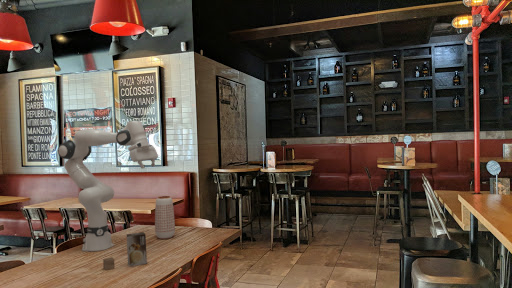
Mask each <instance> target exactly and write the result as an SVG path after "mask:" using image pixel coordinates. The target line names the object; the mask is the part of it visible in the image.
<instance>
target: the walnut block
mask: <svg viewBox="0 0 512 288" xmlns="http://www.w3.org/2000/svg"><path fill="white" fill-rule="evenodd" d="M102 262H103V266H102V268H103V270H104V271H109V270H110V271H111V270H115V258H114V257H112V256H111V257H110V256H109V257H106V258H103V259H102Z"/></svg>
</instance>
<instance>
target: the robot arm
mask: <svg viewBox="0 0 512 288" xmlns="http://www.w3.org/2000/svg"><path fill="white" fill-rule="evenodd" d="M148 139H149V138H148V137H147V136H146V131H145V129H144V125H143V123H142V122H141V121H140V120H137V119H136V120H129V121H128V122H127V123H126V125H125V126H124V127H123V128H122V129H121V130H120V131H118V132H112V131H108V130H107V131H106V130H102V129H96V128H85V129H80V130H78V131H76V132H75V134H74V137H73V139H68V140H66V141H65V142H63V143H61V144H60V145H58V149H57V153H58V156H59V157H60V158H62V159H65V160H66V162H65V163H64V168H65V170H66V172H67V174H68V176H69V178H70V179H72V181H73V182H74V184H75V185H76V186H77V187H78V188H79V189H82V190H80V192H78V196H77V199H78V202H79V203H80V204H81V205H82V206H83V207H84V209H85V211H86V214H87V231H86V233H87V234H86V236H85V237H84V238H82V242H83V244H82V248H81V251H82V252H99V251H104V250H107V249H108V250H109V248H111V247H114V246H115V243H113V242H112V234H111V233H110V232H109V225H108V213H107V212H106V210H104V209H103V207H102V203H107V202H109V201H110V200H112V199H113V198H114V196H115V190H114V188H113V187H112V186H111V185H108V184H106V183H103V182H102V181H101V180H100V179H99V178H97V177H96V176H94V174H93V173H92V172H91V171H90V170H89V168H88V167H87V166H86V165H85V164H84V161H85V162H86V161H87V160H88V157H90V155H91V153H92V147H100V146H105V145H109V144H115V143H117V145H120V146H122V147H128V148H127V149H128V151H129V156H130V159H131V161H132V162H133V163H137V164H138V165H139V166H140V168H141V169H145V167H146V166H145V164H144V163H143V162H146V161H150V162H151V164H150V166H151V168H152V167H153V168H154V167H155V166H156V163H155V162H156V159H158V158H159V154H158V151H157V150H156V147H154V145H152V144H150V143H149V141H148Z"/></svg>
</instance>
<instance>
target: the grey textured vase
mask: <svg viewBox="0 0 512 288" xmlns="http://www.w3.org/2000/svg"><path fill="white" fill-rule="evenodd" d="M154 211H155V212H154V233H155V235H156V237H157V238H158V239H160V240H168V239H171V238H173V236H174V235H175V233H176V231H175V230H176V225H175V223H176V222H175V211H174V202H173V198H172V197H171V196H169V195H164V196H163V195H161V196H157V198H156V199H155V207H154Z"/></svg>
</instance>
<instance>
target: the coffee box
mask: <svg viewBox="0 0 512 288" xmlns="http://www.w3.org/2000/svg"><path fill="white" fill-rule="evenodd" d="M146 240H147V238H146V233H145V232H144V231H142V232H141V231H140V232H134V233H133V232H132V233H126V251H127V264H128V267H135V266H141V265H146V264H148V262H147V261H148V260H147V258H148V257H147V256H148V255H147V241H146Z"/></svg>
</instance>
